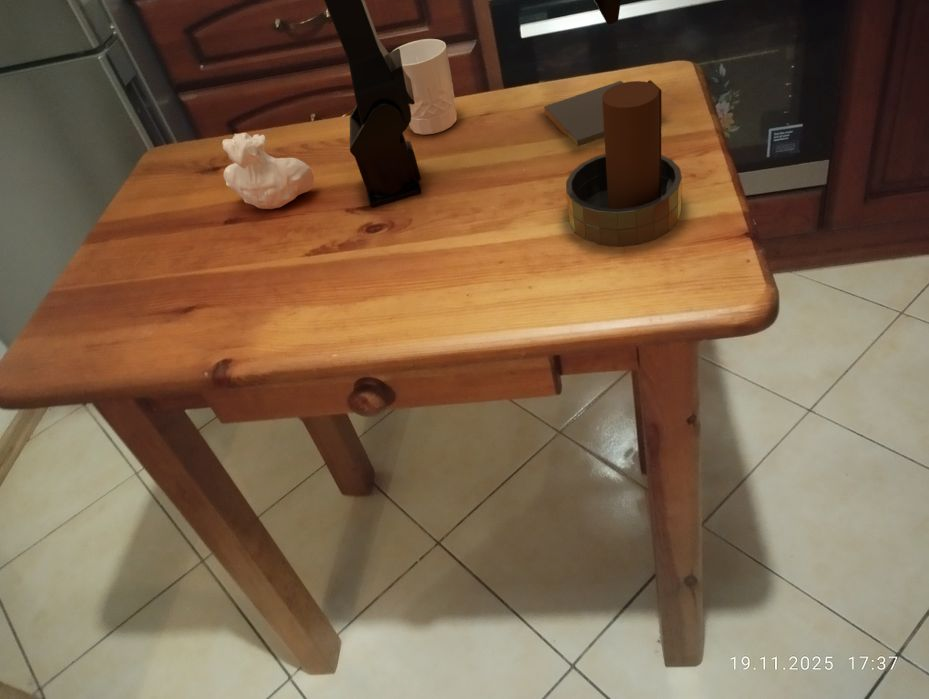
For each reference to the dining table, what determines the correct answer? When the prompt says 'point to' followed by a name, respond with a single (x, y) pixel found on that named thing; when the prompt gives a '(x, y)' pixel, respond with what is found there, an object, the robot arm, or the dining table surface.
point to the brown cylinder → (632, 143)
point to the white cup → (429, 85)
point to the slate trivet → (580, 115)
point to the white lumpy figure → (264, 173)
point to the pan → (620, 224)
